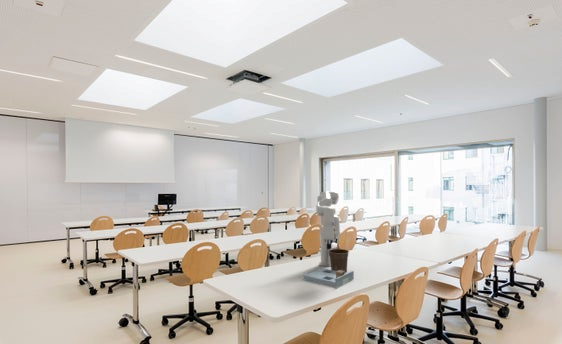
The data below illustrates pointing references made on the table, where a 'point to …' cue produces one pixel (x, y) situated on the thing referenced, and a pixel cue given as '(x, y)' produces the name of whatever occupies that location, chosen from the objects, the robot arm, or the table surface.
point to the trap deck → (328, 277)
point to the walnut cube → (339, 273)
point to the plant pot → (338, 259)
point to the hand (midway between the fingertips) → (329, 249)
